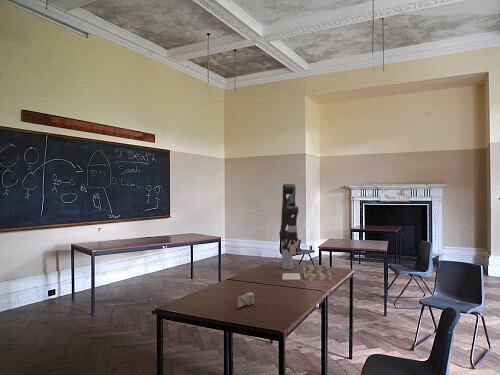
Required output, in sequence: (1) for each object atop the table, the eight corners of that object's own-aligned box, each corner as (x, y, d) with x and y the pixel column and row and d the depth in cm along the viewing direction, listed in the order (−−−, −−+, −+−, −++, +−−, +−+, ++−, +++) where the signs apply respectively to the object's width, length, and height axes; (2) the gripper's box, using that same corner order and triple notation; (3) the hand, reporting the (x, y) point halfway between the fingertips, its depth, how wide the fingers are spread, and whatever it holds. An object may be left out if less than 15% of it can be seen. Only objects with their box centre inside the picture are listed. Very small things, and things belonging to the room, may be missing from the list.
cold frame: (304, 279, 279) (304, 270, 279) (303, 274, 299) (303, 265, 299) (331, 279, 277) (331, 270, 277) (328, 274, 297) (328, 265, 297)
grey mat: (282, 279, 281) (282, 278, 281) (282, 274, 301) (282, 273, 301) (300, 279, 279) (300, 278, 279) (299, 274, 299) (299, 273, 299)
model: (254, 305, 218) (253, 292, 218) (242, 309, 209) (242, 296, 210) (249, 304, 220) (249, 291, 220) (238, 308, 211) (238, 295, 212)
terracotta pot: (289, 254, 288) (289, 244, 288) (288, 253, 293) (288, 243, 294) (296, 254, 287) (296, 244, 287) (296, 253, 293) (295, 243, 293)
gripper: (301, 230, 294) (301, 251, 294) (283, 230, 295) (283, 251, 295) (301, 231, 286) (302, 253, 286) (283, 231, 288) (283, 253, 287)
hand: (292, 252), depth 290 cm, fingers closed on terracotta pot, 5 cm apart
